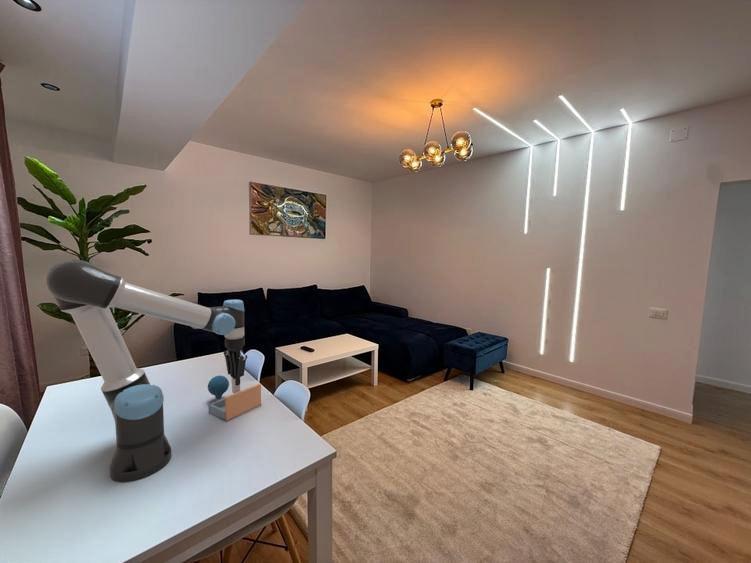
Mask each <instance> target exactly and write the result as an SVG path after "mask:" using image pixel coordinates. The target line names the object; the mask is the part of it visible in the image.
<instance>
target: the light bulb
mask: <svg viewBox="0 0 751 563" xmlns="http://www.w3.org/2000/svg"><path fill="white" fill-rule="evenodd" d="M229 387H230V382H229V379H228V378H227V377H226V376H223V375H215V376H214V377H212V378H211V379H210V380H209V381H208V383H207V390H208V392H209V393H210V394H211V395H212V396H214V397H215V399H216V401H219V400H221V399H222V398H223V394H225V393H226V392H227V391H228V389H229Z"/></svg>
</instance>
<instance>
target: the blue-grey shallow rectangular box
mask: <svg viewBox="0 0 751 563" xmlns="http://www.w3.org/2000/svg"><path fill="white" fill-rule="evenodd" d="M208 413H209V414H211V415H213V416H214V417H216V418H219V419H220V420H223V421H225V422H226V418H225V397H224V398H221V400H219V401H217V400H216V401H214V402H211V403H210V404H208Z"/></svg>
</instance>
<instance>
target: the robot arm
mask: <svg viewBox="0 0 751 563" xmlns="http://www.w3.org/2000/svg"><path fill="white" fill-rule="evenodd" d="M45 281H46V282H45V284H46V287H47V289H48V290H49V292H50V293H51V294H52V296H53V298H54V300H55V302H56V303H57V305H58V307H59V309H60V311H61V312H63V313H67V314H69V315H70V316H71V318H72V319H73V322H74V324H75V326H76V328H77V329H78V332H79V333H80V336H81V337H82V339H83V341H84V343H85V345H86V348H87V350H88V351H89V354H90V355H91V357H92V359H93V362H94V364H95V366H96V368H97V370H98V371H99V372H98V373H99V374H100V375H101V377H102V380H103V383H102V386H101V387H100V390H101V393H102V394H103V396H104V398H105V401H106V402H107V405H108V407H109V408H110V411H111V414H112V417H113V419H114V425H115V437H116V438H115V441H116V447H115V451H114V454H113V457H112V460H111V463H110V466H109V477H110V479H111V480H114V481H115V482H132V481H137V480H139V479H144V478H146V477H148V476H151V475H153V474H155V473H157V472H158V471H160V470H161V469H162V468H164V467H165V466H166V465H167V464H168V463H169V462H170V461H171V459H172V456H173V455H172V453H173V452H172V446H171V444H170V443H169V441H168V438H167V437H166V435H165V423H164V422H165V420H164V418H165V417H164V394H163V391H162V389H161V387H159V386H158V385H155V384H151V383H150V381H149V378H148V377H147V374H146V371H145V370H144V369H141V368H137V367H136V364H135V361H134V359H133V356H132V355H131V353H130V350H129V349H128V347H127V344H126V342H125V340H124V338H123V334H122V333H121V331H120V329H119V326H118V324H117V322H116V320H115V318H114V315H113V314H112V312H111V308H116V309H120V310H124V311H129V312H133V313H136V314H141V315H144V316H149V317H152V318H157V319H159V320H160V319H161V320H165V321H169V322H172V323H176V324H180V325H185V326H189V327H191V328H192V329H195V330H198V329H201V330H203V331H208V332H212V333H215V334H216V335H221V336H224V347H225V348H226V349H227V350H225V351H223V355H224V359H225V365H226V371H227V375H230V377H231V390H232V392H231V393H232V394H235V393H238V392H240V391H241V378H242V377H244V376H245V371H246V363H247V362H246V361H247V359H248V355H247V354H244V350H243V348H244V346H245V344H246V342H245V341H246V339H245V305H244V301H243V300H241V299H227V300H224V301H223V305H222V306H213V307H207V306H203V305H201V304H198V303H194V302H191V301H187V300H184V299H181V298H178V297H175V296H171V295H167V294H165V293H161V292H158V291H154V290H151V289H148V288H145V287H142V286H139V285H135V284H133V283H129V282H126V281H125V280H124V277H121V276H119V275H116V274H113V273H110V272H108V271H105V270H104V269H101V268H100V267H97V266H96V265H94V264H92V263H91V262H88V261H85V260H81V259H71V260H69V259H68V260H65V261H60V262H59V263H56V264H54V265H53V266H52V267H51V268H50V269H49V270H48V272H47V274H46V279H45Z"/></svg>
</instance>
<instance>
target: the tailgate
mask: <svg viewBox="0 0 751 563" xmlns="http://www.w3.org/2000/svg"><path fill="white" fill-rule="evenodd" d="M224 398H225V418H226V420H225V422H230V421H232V420H234V419H237V418H239V417H241V416H242V415H244V414H246V413H249V412H251V411H252V410H255V409H257V408H259V407H262V384H261V383H258V384H255V385H252V386H250V387H247V388H246V389H245V388H244V389H243V390H240V391H239V392H237V393H232V394H231V395H228V396H226V397H224Z"/></svg>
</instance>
